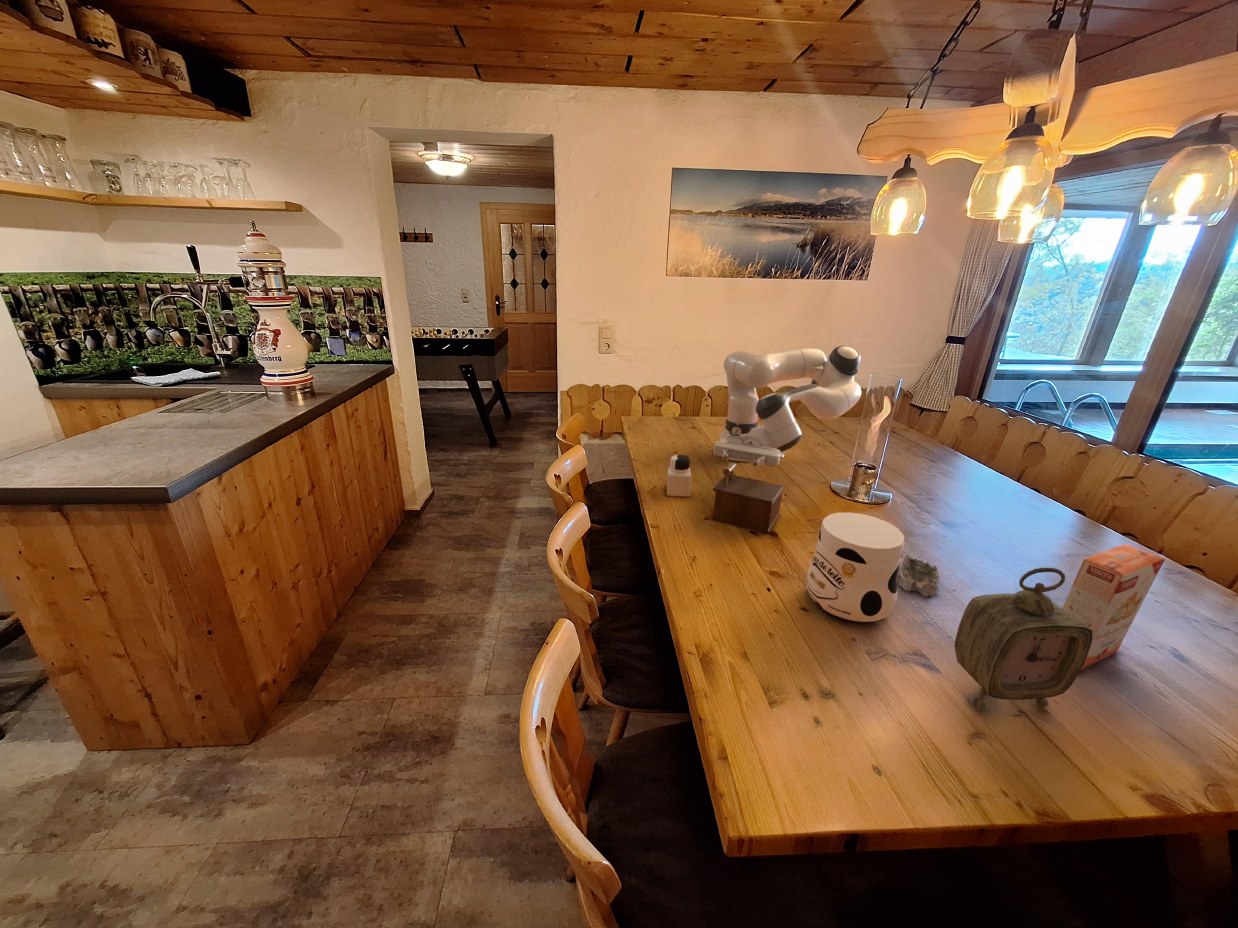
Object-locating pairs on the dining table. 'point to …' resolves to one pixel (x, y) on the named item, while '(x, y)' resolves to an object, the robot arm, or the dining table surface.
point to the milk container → (856, 567)
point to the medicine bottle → (679, 476)
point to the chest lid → (747, 487)
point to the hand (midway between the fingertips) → (739, 460)
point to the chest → (746, 511)
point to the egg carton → (918, 576)
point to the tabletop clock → (1021, 644)
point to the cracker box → (1111, 595)
